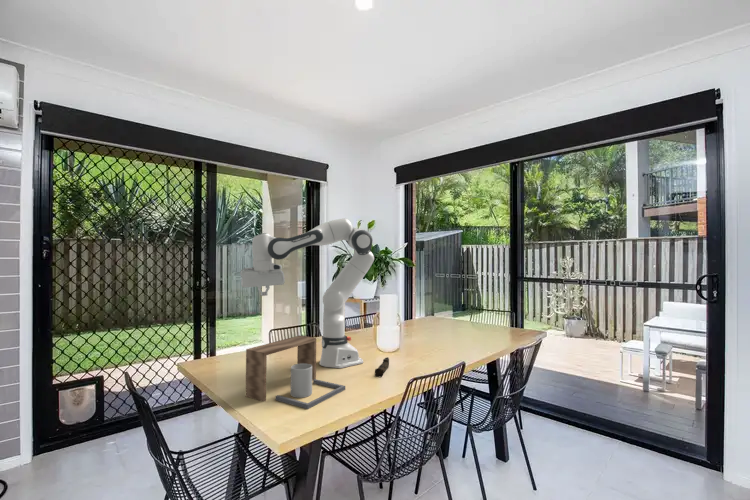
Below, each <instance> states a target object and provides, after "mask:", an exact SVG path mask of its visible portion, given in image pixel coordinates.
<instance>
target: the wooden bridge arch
mask: <svg viewBox="0 0 750 500" xmlns="http://www.w3.org/2000/svg"><path fill="white" fill-rule="evenodd" d="M296 347H297V360H296V364H303V363H304V364H310V365H312V381H313V380H314V379H317V337H312V336H306V335H296V336H292V337H288V338H285V339H280V340H276V341H274V342H269V343H265V344H262V345H258V346H254V347H250V348H246V350H245V397H246V398H250V399H252V400H256V401H259V402H263V403H264V402H266V401H267V359H268V358H267V356H270V355H271V354H272V355H273V354H276V353H280V352H282V351H287V350H290V349H293V348H296Z"/></svg>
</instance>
